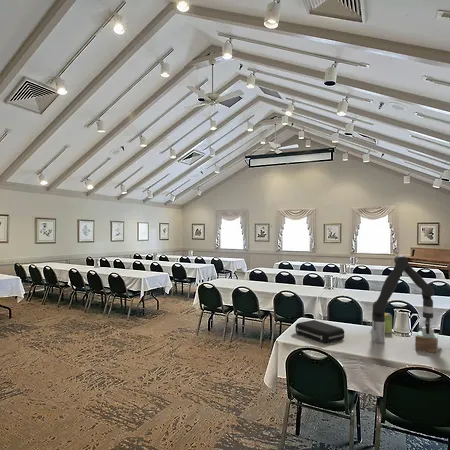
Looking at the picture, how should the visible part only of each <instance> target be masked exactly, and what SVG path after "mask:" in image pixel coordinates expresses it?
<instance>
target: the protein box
mask: <svg viewBox="0 0 450 450" xmlns="http://www.w3.org/2000/svg"><path fill="white" fill-rule="evenodd" d="M372 329H373V311H372V312H371V330H372ZM391 332H392V333H393V315H392V314H391V313H390V312H389V313H388V312H385V334H386V333H387V334H390V333H391Z"/></svg>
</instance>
